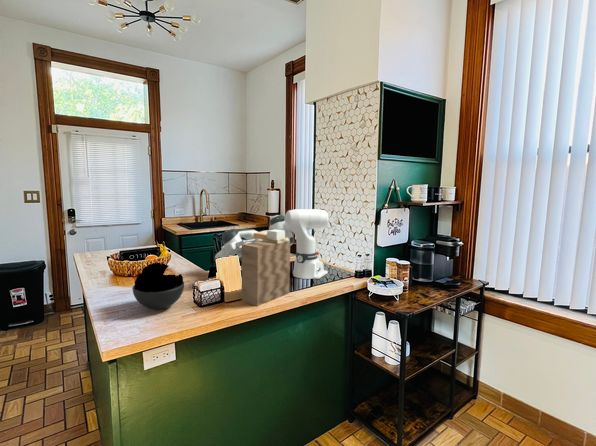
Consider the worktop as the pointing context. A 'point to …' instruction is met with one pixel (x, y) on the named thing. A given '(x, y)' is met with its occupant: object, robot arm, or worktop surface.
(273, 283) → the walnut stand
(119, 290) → the worktop surface
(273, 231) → the mallet
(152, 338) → the worktop surface
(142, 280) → the dark grey bowl
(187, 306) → the worktop surface
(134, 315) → the worktop surface
